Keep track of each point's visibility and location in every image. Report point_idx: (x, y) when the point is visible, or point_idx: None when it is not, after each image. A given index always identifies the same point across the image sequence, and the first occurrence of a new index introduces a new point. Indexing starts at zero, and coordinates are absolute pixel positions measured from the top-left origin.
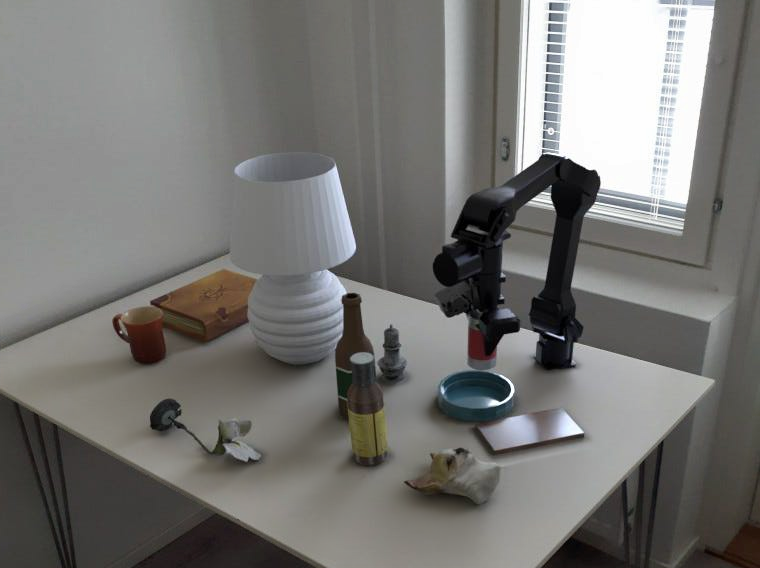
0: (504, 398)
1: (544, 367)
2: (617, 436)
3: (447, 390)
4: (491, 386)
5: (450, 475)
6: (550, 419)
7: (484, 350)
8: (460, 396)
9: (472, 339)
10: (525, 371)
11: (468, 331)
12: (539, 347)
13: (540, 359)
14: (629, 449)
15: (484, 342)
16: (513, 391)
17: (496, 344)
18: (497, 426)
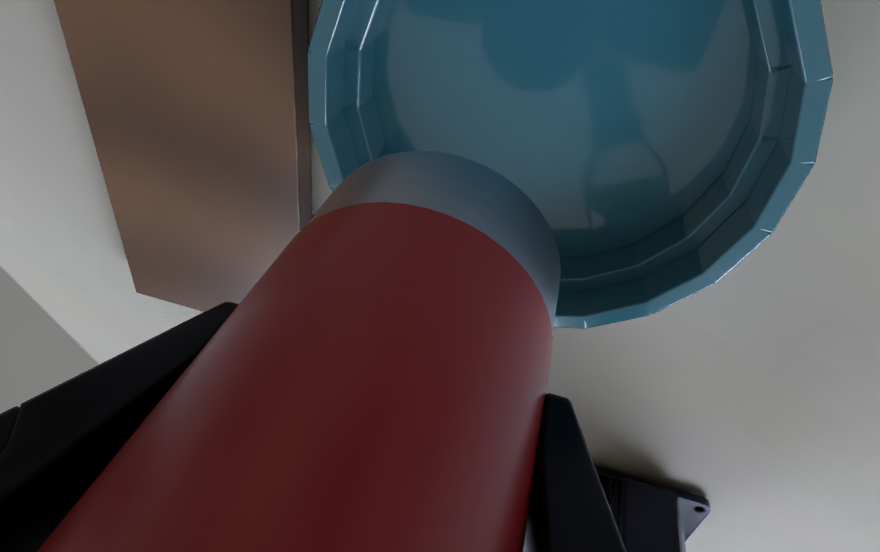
0: None
1: (606, 472)
2: None
3: (751, 7)
4: (613, 254)
5: None
6: (236, 264)
7: (195, 336)
8: (654, 60)
9: (237, 376)
10: (642, 421)
11: (319, 477)
12: (649, 549)
13: (629, 497)
14: (85, 327)
15: (38, 409)
16: None
17: None
18: (234, 43)
